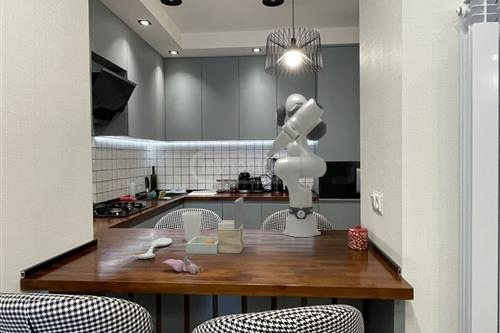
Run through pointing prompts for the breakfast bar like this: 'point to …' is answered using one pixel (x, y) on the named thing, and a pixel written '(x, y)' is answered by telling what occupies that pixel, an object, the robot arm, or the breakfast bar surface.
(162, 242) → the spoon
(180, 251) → the breakfast bar surface
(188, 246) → the tray
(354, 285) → the breakfast bar surface
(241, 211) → the lever flap
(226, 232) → the stand
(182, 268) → the rabbit figure
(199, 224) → the foam cup
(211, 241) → the ball
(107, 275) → the breakfast bar surface
